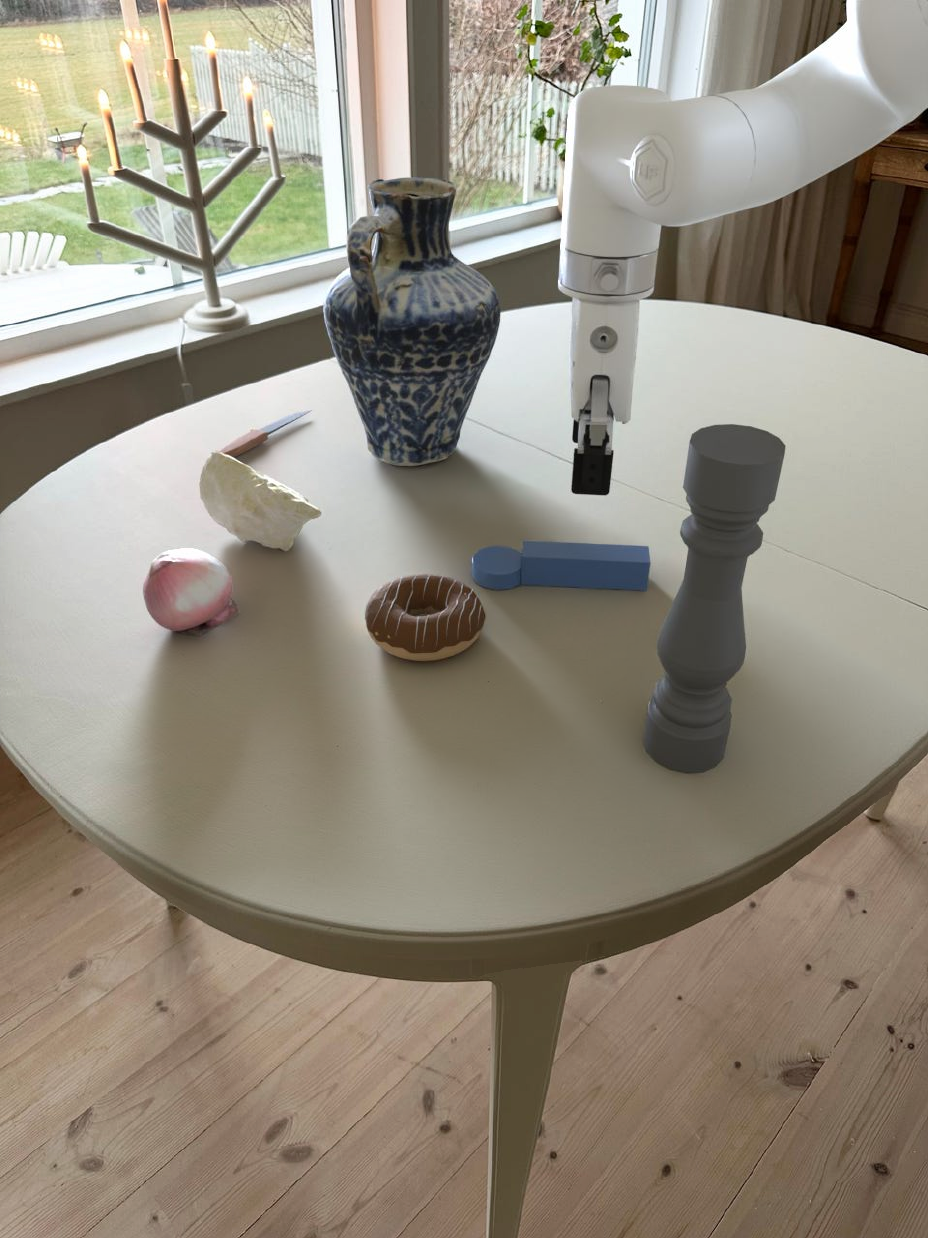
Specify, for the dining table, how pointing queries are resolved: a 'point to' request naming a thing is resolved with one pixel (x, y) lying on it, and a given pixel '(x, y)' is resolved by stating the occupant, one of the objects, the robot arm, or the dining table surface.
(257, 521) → the cheese
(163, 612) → the onion
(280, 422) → the knife
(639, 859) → the dining table surface
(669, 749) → the candle holder
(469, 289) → the jug
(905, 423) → the dining table surface
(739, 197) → the robot arm
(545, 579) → the spoon
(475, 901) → the dining table surface
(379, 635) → the donut
